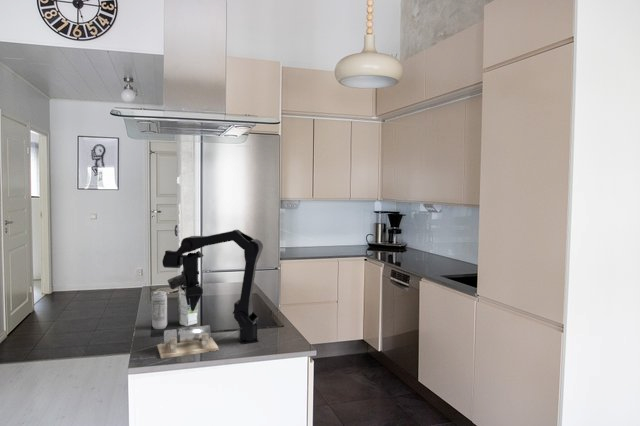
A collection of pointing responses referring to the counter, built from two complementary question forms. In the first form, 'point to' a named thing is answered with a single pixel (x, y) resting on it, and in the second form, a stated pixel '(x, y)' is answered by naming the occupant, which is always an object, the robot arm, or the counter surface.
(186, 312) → the syrup box
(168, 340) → the metal tube
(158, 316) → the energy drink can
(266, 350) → the counter surface
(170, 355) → the collar stand
